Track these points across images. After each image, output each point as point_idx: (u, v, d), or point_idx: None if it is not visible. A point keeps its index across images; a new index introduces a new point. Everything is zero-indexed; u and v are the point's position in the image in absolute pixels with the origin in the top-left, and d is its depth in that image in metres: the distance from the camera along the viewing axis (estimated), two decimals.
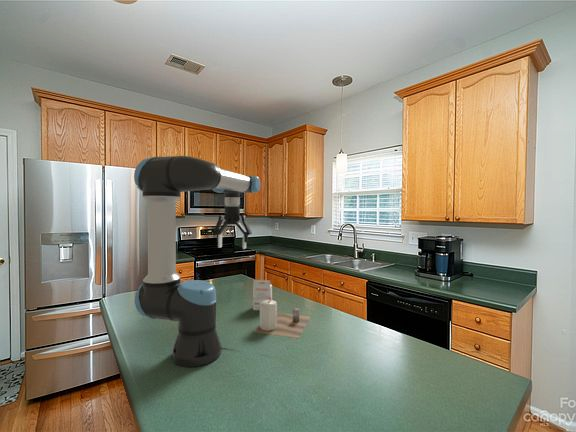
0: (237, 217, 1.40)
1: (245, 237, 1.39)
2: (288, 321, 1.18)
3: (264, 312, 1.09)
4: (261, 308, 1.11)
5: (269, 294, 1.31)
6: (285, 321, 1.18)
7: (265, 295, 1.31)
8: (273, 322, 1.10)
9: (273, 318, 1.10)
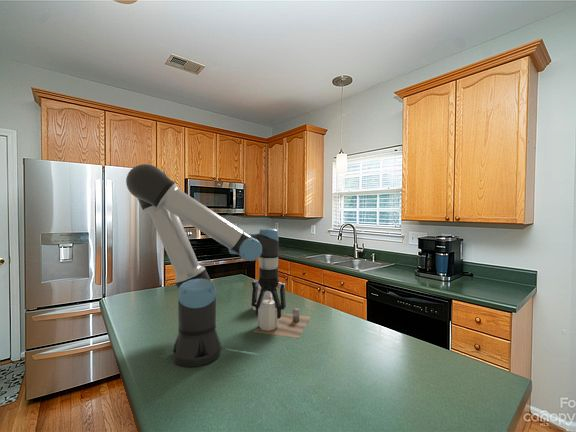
0: (276, 283, 1.10)
1: (278, 312, 1.10)
2: (288, 321, 1.18)
3: (264, 312, 1.09)
4: (261, 308, 1.11)
5: (269, 294, 1.31)
6: (285, 321, 1.18)
7: (265, 295, 1.31)
8: (273, 322, 1.10)
9: (273, 318, 1.10)
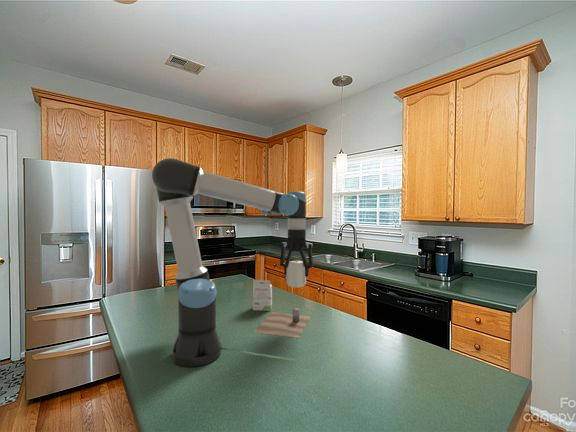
0: (304, 243, 1.16)
1: (306, 271, 1.16)
2: (288, 321, 1.18)
3: (293, 270, 1.15)
4: (290, 267, 1.16)
5: (269, 294, 1.31)
6: (285, 321, 1.18)
7: (265, 295, 1.31)
8: (301, 280, 1.16)
9: (301, 276, 1.16)
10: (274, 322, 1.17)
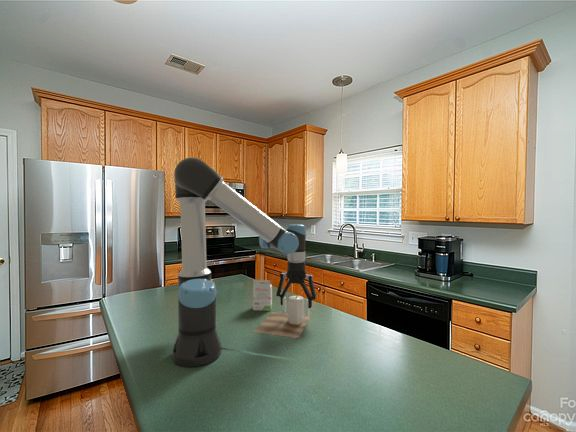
0: (303, 275, 1.16)
1: (309, 302, 1.16)
2: None
3: (292, 307, 1.16)
4: (289, 303, 1.17)
5: (269, 294, 1.31)
6: (285, 321, 1.18)
7: (265, 295, 1.31)
8: (301, 316, 1.16)
9: (301, 313, 1.16)
10: (274, 322, 1.17)
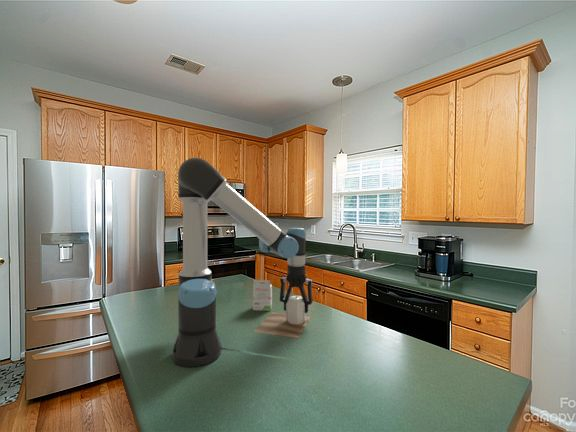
0: (303, 279, 1.16)
1: (305, 307, 1.17)
2: None
3: (292, 307, 1.16)
4: (289, 303, 1.17)
5: (269, 294, 1.31)
6: (285, 321, 1.18)
7: (265, 295, 1.31)
8: (301, 316, 1.16)
9: (301, 313, 1.16)
10: (274, 322, 1.17)
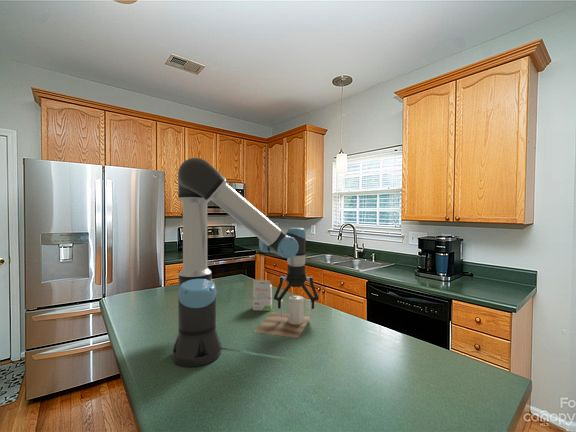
0: (304, 278, 1.17)
1: (312, 303, 1.18)
2: None
3: (300, 307, 1.16)
4: (296, 304, 1.15)
5: (269, 294, 1.31)
6: (285, 321, 1.18)
7: (265, 295, 1.31)
8: None
9: None
10: (274, 322, 1.17)
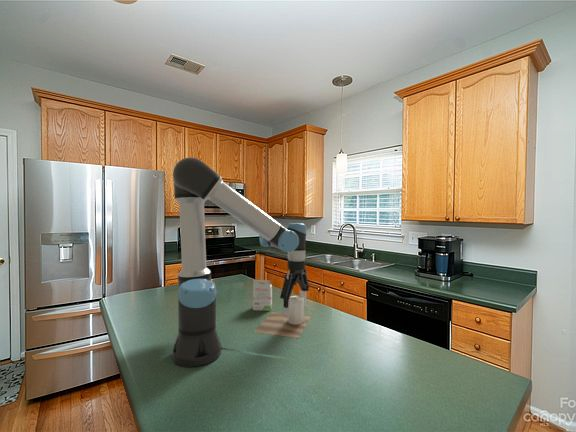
0: (302, 272, 1.21)
1: (305, 292, 1.25)
2: None
3: None
4: (303, 303, 1.17)
5: (269, 294, 1.31)
6: (285, 321, 1.18)
7: (265, 295, 1.31)
8: None
9: None
10: (274, 322, 1.17)
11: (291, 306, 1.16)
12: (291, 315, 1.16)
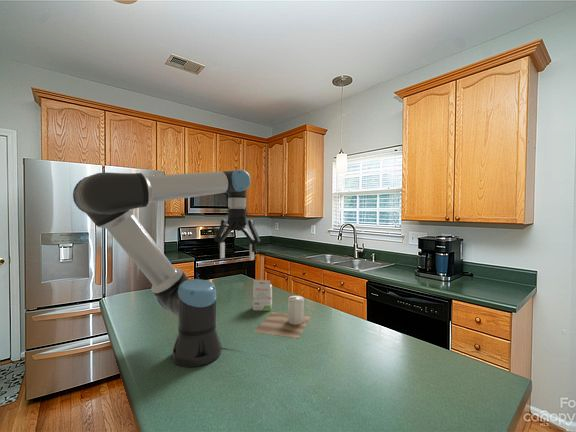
0: (243, 222, 1.16)
1: (253, 246, 1.15)
2: None
3: None
4: (303, 303, 1.17)
5: (269, 294, 1.31)
6: (285, 321, 1.18)
7: (265, 295, 1.31)
8: None
9: None
10: (274, 322, 1.17)
11: (291, 306, 1.16)
12: (291, 315, 1.16)
